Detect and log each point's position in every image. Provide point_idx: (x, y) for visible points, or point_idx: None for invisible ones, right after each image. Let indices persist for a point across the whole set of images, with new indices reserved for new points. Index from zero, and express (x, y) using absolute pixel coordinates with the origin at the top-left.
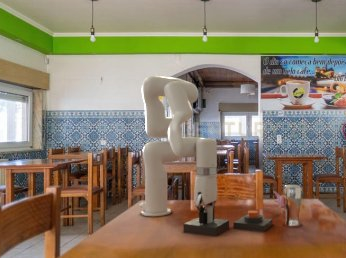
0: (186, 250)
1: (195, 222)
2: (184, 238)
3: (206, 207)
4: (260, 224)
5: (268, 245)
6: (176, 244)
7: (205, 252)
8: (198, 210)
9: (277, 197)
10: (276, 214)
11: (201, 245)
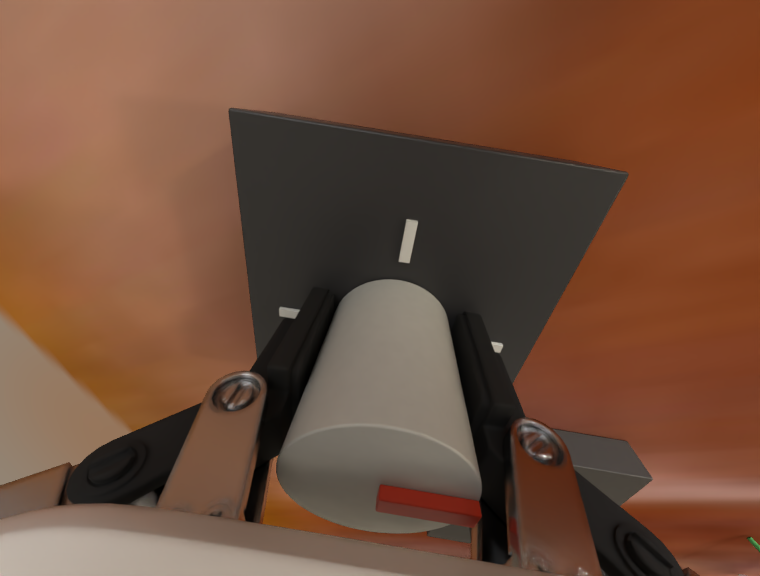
0: (10, 298)
1: (340, 233)
2: (145, 202)
3: (252, 520)
4: (447, 530)
5: (274, 510)
6: (17, 201)
7: (69, 375)
8: (207, 397)
9: None
10: (754, 544)
11: (122, 340)
